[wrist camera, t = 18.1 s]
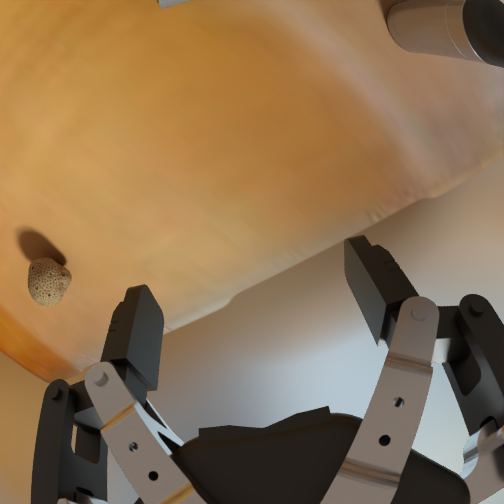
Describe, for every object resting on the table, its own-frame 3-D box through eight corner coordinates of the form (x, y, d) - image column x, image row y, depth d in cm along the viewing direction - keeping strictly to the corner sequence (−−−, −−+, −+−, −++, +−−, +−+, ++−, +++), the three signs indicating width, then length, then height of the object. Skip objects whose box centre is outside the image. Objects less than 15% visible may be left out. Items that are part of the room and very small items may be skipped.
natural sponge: (31, 254, 48) (10, 287, 40) (56, 239, 47) (34, 272, 39) (56, 285, 53) (40, 319, 45) (83, 273, 52) (67, 309, 44)
